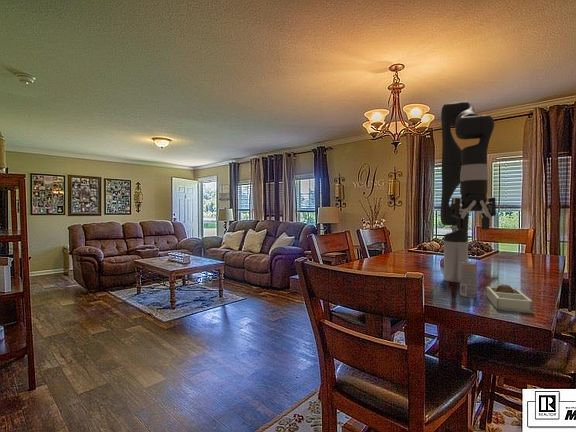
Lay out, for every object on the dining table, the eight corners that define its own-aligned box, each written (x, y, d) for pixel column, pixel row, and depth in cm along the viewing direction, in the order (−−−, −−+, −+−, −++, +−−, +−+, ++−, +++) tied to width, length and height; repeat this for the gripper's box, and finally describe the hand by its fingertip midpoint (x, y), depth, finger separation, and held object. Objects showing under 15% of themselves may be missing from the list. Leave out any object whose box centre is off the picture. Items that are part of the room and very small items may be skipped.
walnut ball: (494, 296, 108) (494, 282, 108) (511, 297, 106) (511, 283, 106) (498, 299, 104) (498, 285, 104) (515, 301, 102) (515, 286, 102)
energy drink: (472, 294, 113) (472, 261, 113) (480, 298, 108) (480, 264, 108) (457, 293, 114) (457, 261, 114) (463, 298, 109) (464, 263, 108)
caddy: (486, 296, 111) (486, 286, 110) (517, 299, 107) (517, 289, 107) (497, 309, 96) (497, 298, 96) (533, 313, 92) (533, 301, 92)
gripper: (484, 180, 104) (483, 228, 105) (445, 180, 102) (445, 229, 103) (503, 178, 97) (502, 230, 97) (461, 178, 94) (461, 231, 95)
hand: (473, 230), depth 100 cm, fingers open, 8 cm apart
